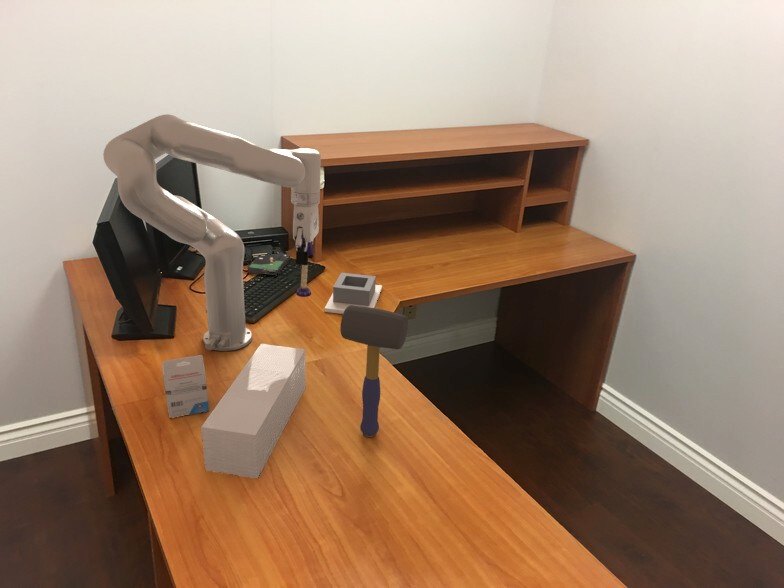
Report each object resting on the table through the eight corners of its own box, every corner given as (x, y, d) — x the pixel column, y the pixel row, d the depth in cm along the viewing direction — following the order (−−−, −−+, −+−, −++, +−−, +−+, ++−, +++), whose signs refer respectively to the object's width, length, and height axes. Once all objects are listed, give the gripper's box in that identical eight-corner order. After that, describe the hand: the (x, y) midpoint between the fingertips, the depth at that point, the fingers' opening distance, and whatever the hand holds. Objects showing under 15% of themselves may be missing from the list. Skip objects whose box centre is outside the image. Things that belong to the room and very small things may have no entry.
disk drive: (262, 258, 219) (247, 274, 206) (261, 250, 218) (246, 266, 205) (290, 261, 218) (277, 277, 205) (290, 254, 217) (277, 269, 204)
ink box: (206, 399, 142) (200, 343, 136) (209, 411, 138) (204, 355, 132) (166, 406, 139) (159, 350, 133) (169, 419, 135) (161, 361, 128)
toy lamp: (315, 292, 178) (316, 237, 171) (309, 299, 174) (309, 242, 167) (299, 289, 179) (300, 234, 172) (293, 296, 175) (293, 240, 168)
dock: (371, 317, 182) (371, 298, 180) (324, 311, 184) (324, 292, 181) (381, 288, 200) (382, 271, 198) (339, 284, 202) (339, 266, 199)
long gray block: (262, 382, 150) (261, 343, 145) (305, 388, 149) (305, 349, 144) (205, 471, 121) (201, 426, 117) (257, 480, 120) (255, 435, 115)
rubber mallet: (401, 430, 136) (411, 307, 123) (391, 451, 129) (400, 324, 116) (348, 417, 139) (351, 296, 126) (335, 437, 132) (338, 312, 119)
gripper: (311, 207, 156) (309, 274, 164) (327, 190, 171) (325, 252, 179) (282, 204, 157) (282, 270, 165) (300, 187, 172) (299, 248, 180)
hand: (304, 260), depth 172 cm, fingers closed on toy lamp, 4 cm apart
